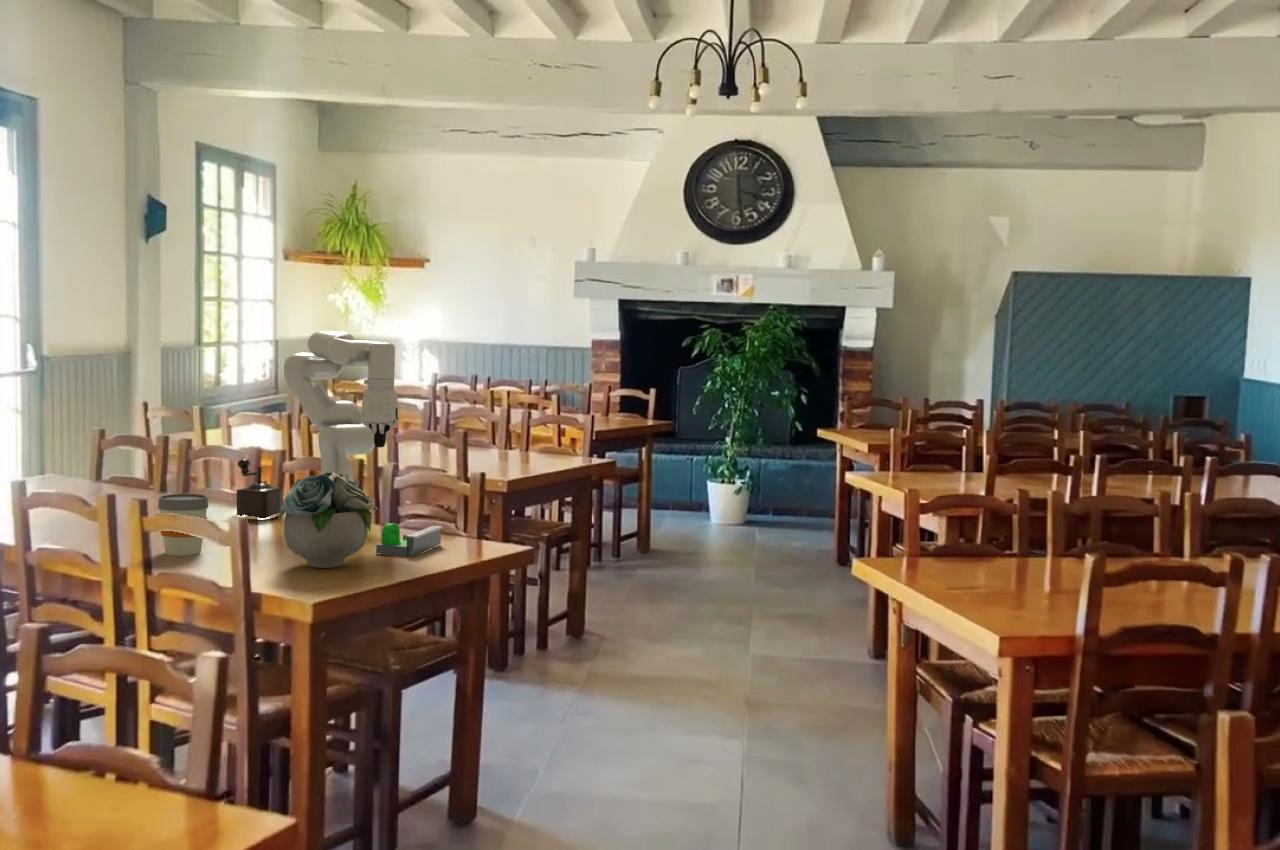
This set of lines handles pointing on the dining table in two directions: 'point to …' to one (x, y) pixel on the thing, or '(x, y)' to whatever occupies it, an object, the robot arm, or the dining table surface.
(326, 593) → the dining table surface
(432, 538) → the steel bracket
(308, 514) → the flower arrangement
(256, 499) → the manual coffee grinder
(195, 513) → the reusable coffee cup
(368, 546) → the dining table surface
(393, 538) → the mechanical part
